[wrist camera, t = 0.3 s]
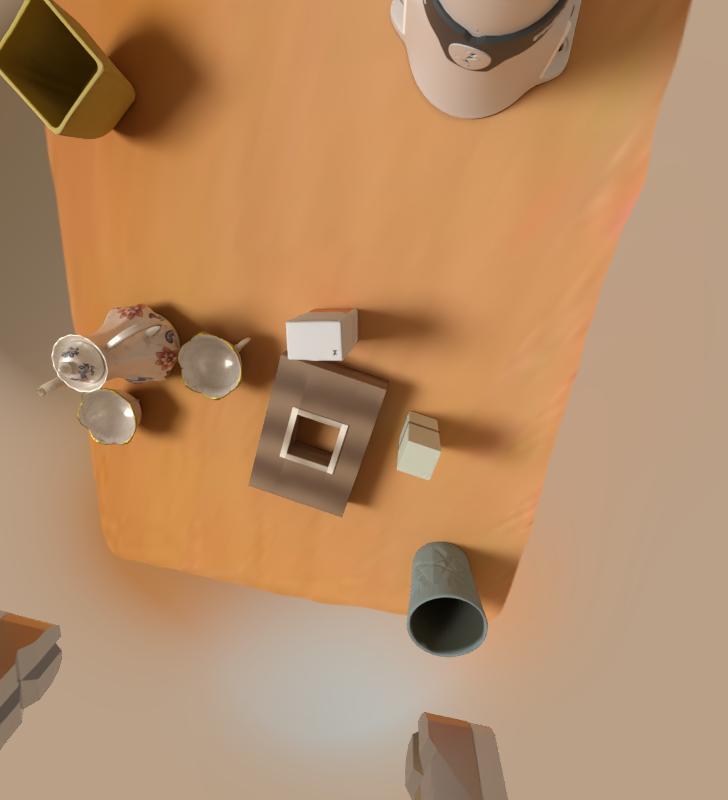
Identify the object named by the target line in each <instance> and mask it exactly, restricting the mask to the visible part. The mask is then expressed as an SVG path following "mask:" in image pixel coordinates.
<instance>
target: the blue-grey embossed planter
mask: <svg viewBox="0 0 728 800" xmlns="http://www.w3.org/2000/svg"><path fill="white" fill-rule="evenodd" d="M412 570H413V571H412V585H411V591H410V592H411V593H410V600H409V609H408V617H407V630H408V633H409V635H410V637H411V639H412V640H413V641H414V643H415V644H416V645H417V646H418V647H420V648H421V649H422V650H424V651H426V652H428V653H431V654H433V655H437V656H441V657H456V656H460V655H464V654H467V653H470V652H472V651H474V650H475V649H477V648H478V647H479V646H480V645H481V644H482V642H483V641H484V639H485V637H486V634H487V629H488V623H487V619H486V616H485V613H484V610H483V607H482V604H481V601H480V598H479V595H478V594H477V588H476V585H475V582H474V579H473V576H472V573H471V568H470V565H469V562H468V559H467V557H466V555H465V554H464V552H463V551H462V550H461V549H460V548H458V547H457V546H455V545H453V544H451V543H447V542H433V543H429V544H426V545H425V546H423V547H422V548H421V549H419V550H418V552H417V553H416V555H415V557H414V560H413V567H412Z"/></svg>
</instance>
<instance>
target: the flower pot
mask: <svg viewBox="0 0 728 800" xmlns="http://www.w3.org/2000/svg"><path fill="white" fill-rule="evenodd" d="M0 74H1V75H2V77H3V78H4V79H5V80H6V81H7V82H8V83H9V84H10V85H11V86H12V87H13V88H14V90H15V91H16V92H17V93H18V94H19V95H20V96H21V97H22V99H23V100H24V101H25V102H26V103H27V104H28V105H29V106H30V107H31V109H33V111H34V112H35V113H36V114H37V115H38V116H39V118H40V119H41V120H42V121H43V122H44V123H45V124H46V125H47V126H48V127H49V129H50V130H51V131H52V132H53V133H54V134H56V135H62V136H69V137H76V138H83V139H95V138H99V137H102V136H104V135H106V134H107V133H108V132H110V131H111V130H112V129H113V128H114V127H115V126H116V125H117V123H118V122H119V121H120V119H121V118H122V116H123V115H124V113H125V112H126V111H127V109H128V108H129V107H130V105H131V104H132V103H133V102H134V100H135V96H136V95H135V91H134V88H133V87H132V85H131V84H130V83H129V81H128V80H127V79H126V78H125V77H124V76H123V74H122V73H121V72H120V71H119V70H118V69H117V68H116V66H115V65H114V64H113V63H112V62H111V60H110V59H109V58H108V57H107V56H106V54H105V53H104V52H103V51H102V50H101V48H100V47H99V46H98V45H97V44H96V42H95V41H94V40H93V39H92V37H91V36H90V35H89V34H88V33H87V31H86V30H85V29H84V28H83V27H82V26H81V25H80V24H79V23H78V22H77V21H76V20H75V19H74V18H73V17H72V16H70V15H69V14H68V13H67V12H66V11H65V10H63V9H62V8H61V7H60V6H59V5H58V4H56V3H55V2H54V1H53V0H25V1H24V3H23V5H22V7H21V9H20V11H19V12H18V14H17V16H16V18H15V20H14V22H13V23H12V25H11V27H10V29H9V30H8V32H7V33H6V35H5V36H4V38H3V39H2V41H1V42H0Z"/></svg>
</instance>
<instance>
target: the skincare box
mask: <svg viewBox="0 0 728 800" xmlns="http://www.w3.org/2000/svg"><path fill="white" fill-rule="evenodd" d="M286 333H287V351H288V359H289V360H311V361H342V360H343V359H344V358H345V357H346V356H347V354H348V353H349V352H350V350H351V349H352V348H353V347H354V345H355V344H356V343H357V341H358V310H357V309H339V310H330V309H313V310H311V311H309V312H307V313H304V314H302V315H300V316H298V317H296V318H294V319H292V320H289V321H287V322H286Z"/></svg>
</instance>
